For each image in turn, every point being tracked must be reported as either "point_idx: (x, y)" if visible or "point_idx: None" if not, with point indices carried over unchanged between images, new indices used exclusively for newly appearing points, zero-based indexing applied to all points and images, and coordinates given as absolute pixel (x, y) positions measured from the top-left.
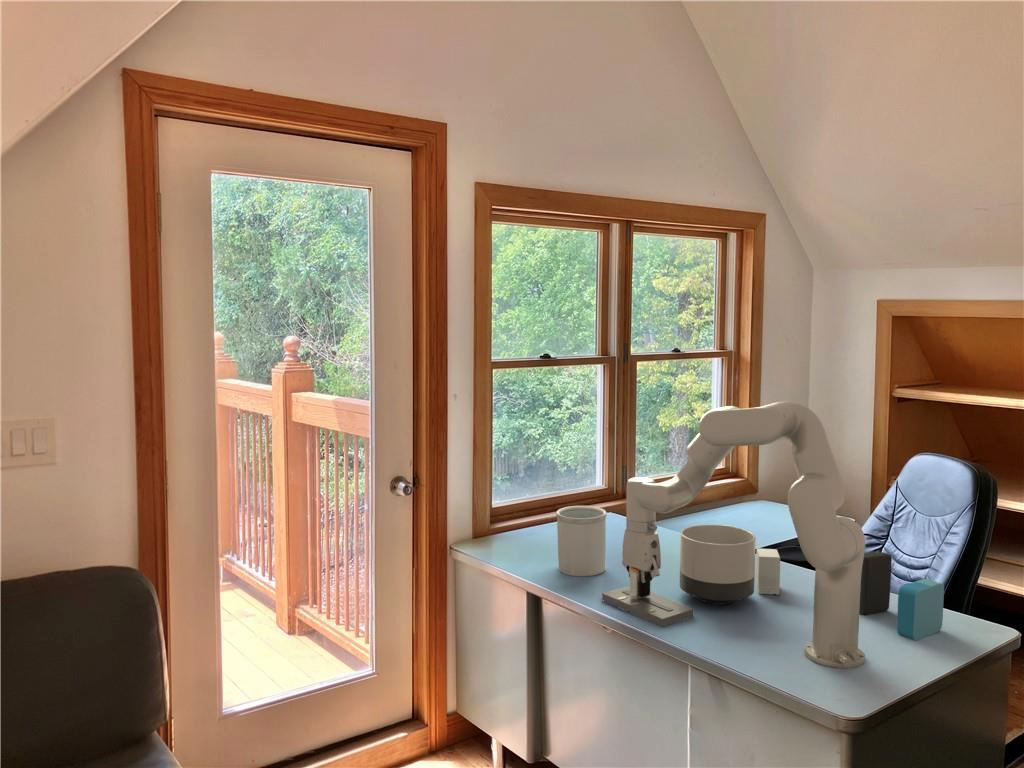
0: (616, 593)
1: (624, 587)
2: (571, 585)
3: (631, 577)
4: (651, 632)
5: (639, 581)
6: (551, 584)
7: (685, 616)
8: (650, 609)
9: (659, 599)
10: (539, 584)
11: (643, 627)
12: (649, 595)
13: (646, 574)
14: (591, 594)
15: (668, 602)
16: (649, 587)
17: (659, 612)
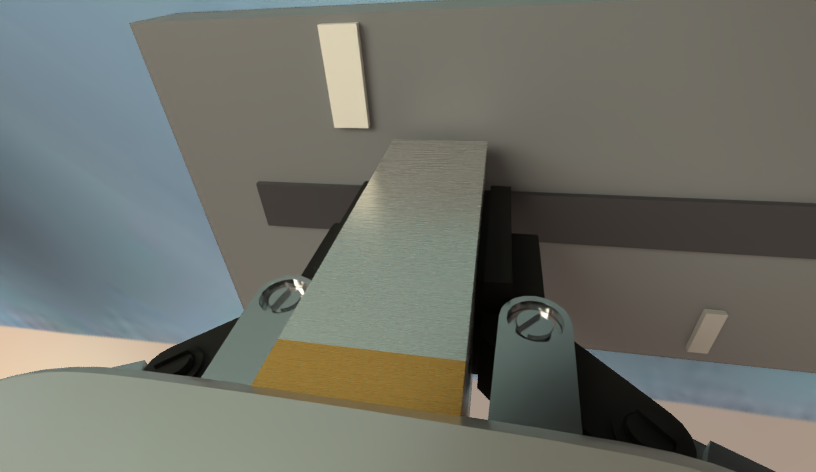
0: (280, 263)
1: (181, 136)
2: (18, 245)
3: None
4: (789, 407)
5: (470, 390)
6: (6, 295)
7: None
8: (668, 313)
9: (591, 98)
10: (7, 324)
11: (706, 387)
12: (486, 153)
13: (468, 369)
14: (164, 259)
15: (731, 86)
16: (541, 267)
17: (774, 316)
